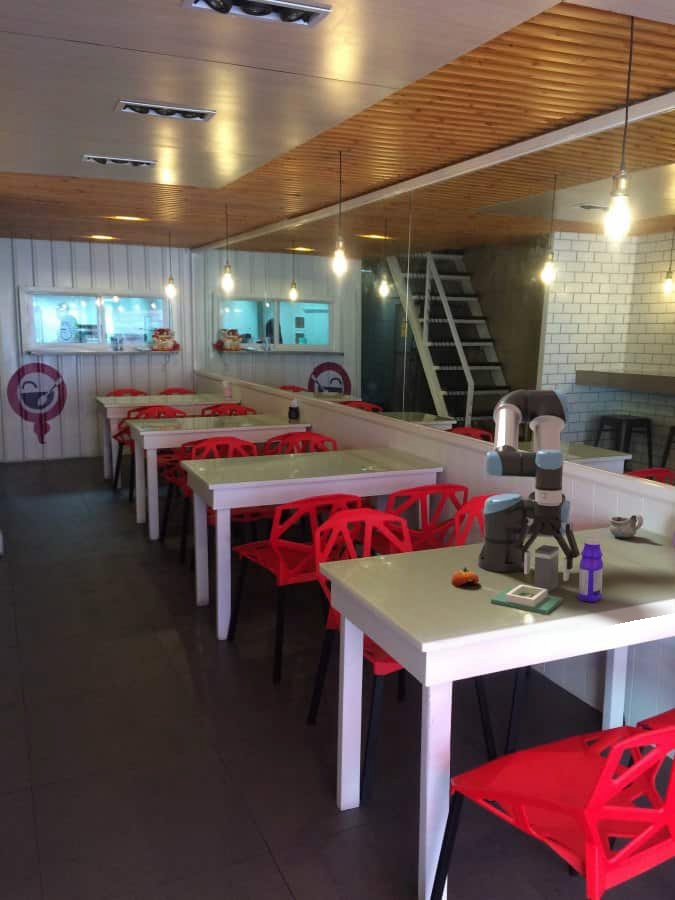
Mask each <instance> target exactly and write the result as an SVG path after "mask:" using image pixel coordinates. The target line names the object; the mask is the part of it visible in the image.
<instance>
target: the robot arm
mask: <svg viewBox="0 0 675 900" xmlns="http://www.w3.org/2000/svg"><path fill="white" fill-rule="evenodd" d="M568 400H569V399H568V395H567V394H566V392H565V391H564V390H562V389H561V390H560V389H553V388H551V389H517V390H514V391H511V392H509V393H508V394H505V395H503V396H502V398H501V399H499V401H498V402H497V403H496V406H495V407H494V409H493V418H492V419H493V422H494V424H495V428H494V429H495V430H494V431H495V432H494V442H493V451H488V452H487V453H486V455H485V457H486V458H485V472H486V474H487V475H488V476H493V477H516V478H517V477H518V478H519V477H521V478H526V477H527V478H533V479H532V480H533V481H532V484H533V485H532V486H533V487H532V488H533V489H532V491H531V492H530V493H528V496H527V498H528V499H527V498H526V499H523V497H522V494H519V493H501V494H495V495H492V496H489V497H488V498H486V499H485V501H484V510H483V514H484V517H483V518H484V525H483V527H484V528H483V543H482V546H481V549H480V551H479V555H478V557H477V559H478V560H477V565H478V567H479V568H482V569H483V570H487V571H492V572H498V573H499V572H500V573H511V572H512V573H514V572H518V571H522V570H523V571H524V572H523V574H524V575H528V574H530V573H531V550H530V547H531V546H532V545H533V544H534V542H535V541H536V539H537V538H538V537H542V538H543V537H545V538H546V537H548V538H554V539H555V540H556V542H557V544H558V546H559V547H560V548H561V550H562V552H563V554H564V555H565V558H563V573H562V574H563V575H562V576H563V577H562V580H563V581H564V582H567V581H568V580H569V579H570V570H572V569H573V567H574V566H573V565H574V560H573V559H574V558H575V559H576V558H578V557H579V556H580V555H581V552H580V550H579V547H578V544H577V541H576V538H575V535H574V532H573V523H572V522H569V516H570V511H571V510H570V509H571V501H570V500H568V499H567V498H566V495H565V493H564V492H563V473H564V472H563V470H564V469H563V468H564V453H563V452H562V451H561V431H562V430H563V429H564V428H565V426H566V425H567V424H568V423H569V421H570V409H569V407H570V406H569V401H568ZM523 423H524V424H528V425H529V428H530V429H531V430H532V431H533V452H532V451H531V452H529V451H524V452H523V451H519V428H520V427H519V426H520V424H523ZM566 499H567V500H566ZM564 536H566V539H567V541H566V539H565V538H564ZM527 537H529V538H528V539H527V540H526V538H527ZM525 540H526V542H525ZM567 542H568V543H567Z"/></svg>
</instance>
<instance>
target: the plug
mask: <svg viewBox="0 0 675 900" xmlns="http://www.w3.org/2000/svg"><path fill="white" fill-rule="evenodd" d="M559 547H560V546H554V545H548V544H543V545H541V546H540V547H538V548H536V549H535V550H534V581H533V582H534V583H533V587H538V588H543V589H548V593H550V592H552V591H554V590H555V589H556V588H558V583H559V582H558V581H559V554H560V548H559Z"/></svg>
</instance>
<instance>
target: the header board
mask: <svg viewBox="0 0 675 900" xmlns="http://www.w3.org/2000/svg"><path fill="white" fill-rule="evenodd" d="M562 602H563V597H559V596H552V595H548V589H543V588H538V587H534V586H531V585H525V584H519V585H518V586H516V587H514V588H511V587H508V588H506V589H504V590H503V591H501V592H500V593H498V594H497V595H495V596H493V597H492V598H491V599H490V603H491V604H495V605H499V606H506V607H508V608H509V607H510V608H514V609H521V610H525V611H529V612H535V613H539V614H544V615H548V614H549V613H551V611H553V610H554V609H555V608H557V607H558V606H559V605H560V604H562Z"/></svg>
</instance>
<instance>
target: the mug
mask: <svg viewBox="0 0 675 900" xmlns="http://www.w3.org/2000/svg"><path fill="white" fill-rule="evenodd" d="M643 525H644V517H643V516H642V515H641V514H639V513H633V514H632V515H630V516H629V517H628V516H627V517H626V516H612V517H610V525H609V526H610V527H609V531H610V533H611V534H612V535H613V536H614V537H617V538H621V539H630V538H632V537H634V536H635V535H636V534H637V530H639V529H640V528H642V526H643Z"/></svg>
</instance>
